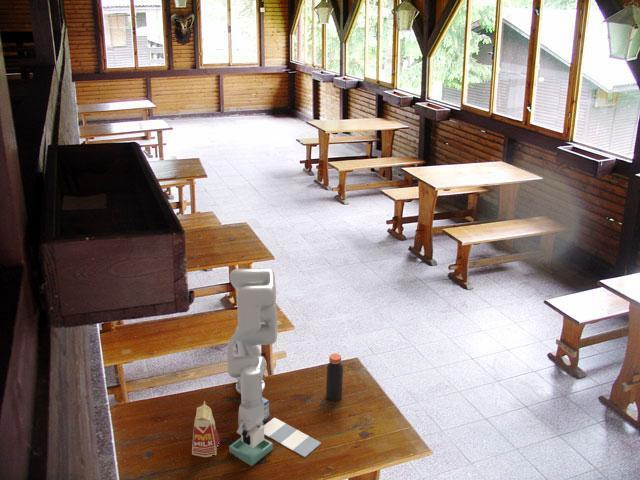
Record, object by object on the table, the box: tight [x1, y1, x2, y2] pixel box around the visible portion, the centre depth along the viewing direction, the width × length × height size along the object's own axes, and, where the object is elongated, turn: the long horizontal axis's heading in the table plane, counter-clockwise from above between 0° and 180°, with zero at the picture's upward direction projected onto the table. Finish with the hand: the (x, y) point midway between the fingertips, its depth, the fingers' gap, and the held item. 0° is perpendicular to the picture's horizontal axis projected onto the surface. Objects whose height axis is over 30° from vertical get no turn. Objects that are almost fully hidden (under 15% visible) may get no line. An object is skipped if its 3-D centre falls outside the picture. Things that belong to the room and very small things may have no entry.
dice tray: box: [228, 437, 274, 467], centre depth 241 cm, size 12×12×3 cm
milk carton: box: [191, 400, 221, 458], centre depth 238 cm, size 9×9×20 cm
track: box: [263, 417, 322, 458], centre depth 249 cm, size 24×10×1 cm, turn 52°
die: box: [240, 424, 265, 448], centre depth 238 cm, size 6×6×6 cm
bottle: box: [325, 353, 344, 402], centre depth 270 cm, size 7×7×20 cm
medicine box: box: [262, 396, 270, 422], centre depth 257 cm, size 8×4×9 cm, turn 143°
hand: (252, 438), depth 239 cm, fingers closed on die, 5 cm apart
